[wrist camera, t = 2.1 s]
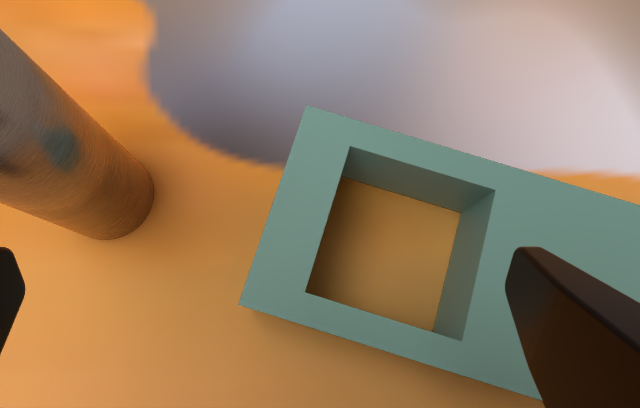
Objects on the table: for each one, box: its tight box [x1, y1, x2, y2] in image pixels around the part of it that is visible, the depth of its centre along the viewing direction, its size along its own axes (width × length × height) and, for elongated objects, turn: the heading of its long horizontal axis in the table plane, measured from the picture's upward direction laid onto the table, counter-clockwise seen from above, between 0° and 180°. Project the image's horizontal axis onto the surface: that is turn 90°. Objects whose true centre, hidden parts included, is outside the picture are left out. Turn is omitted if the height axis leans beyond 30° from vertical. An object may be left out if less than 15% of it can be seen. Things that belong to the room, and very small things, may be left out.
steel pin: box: [0, 29, 154, 240], centre depth 15 cm, size 4×4×14 cm
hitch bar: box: [238, 105, 640, 401], centre depth 19 cm, size 20×8×4 cm, turn 73°
